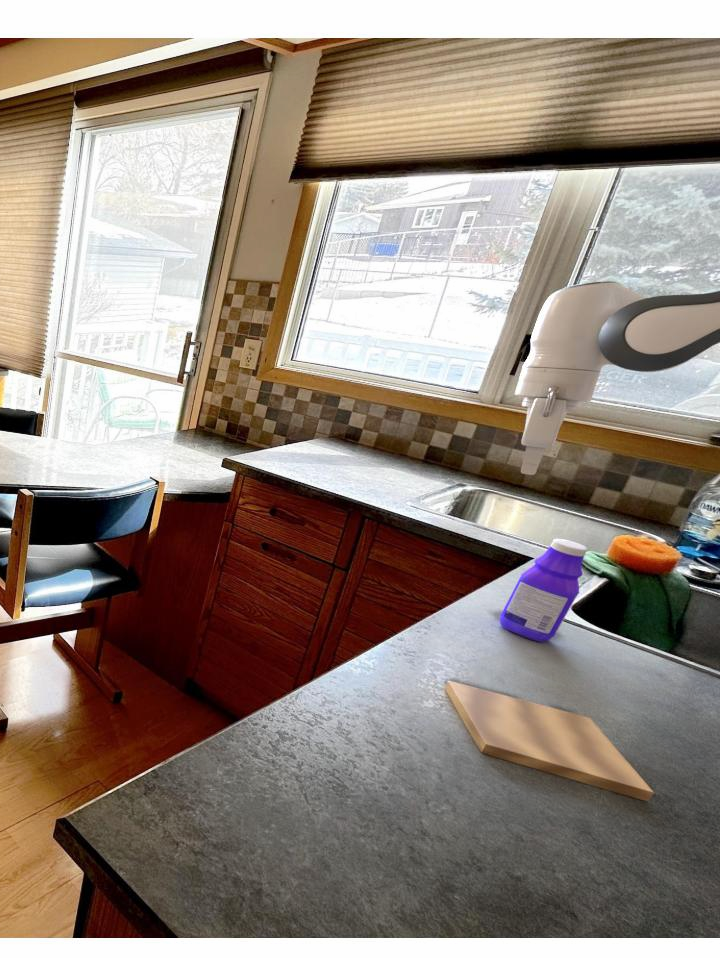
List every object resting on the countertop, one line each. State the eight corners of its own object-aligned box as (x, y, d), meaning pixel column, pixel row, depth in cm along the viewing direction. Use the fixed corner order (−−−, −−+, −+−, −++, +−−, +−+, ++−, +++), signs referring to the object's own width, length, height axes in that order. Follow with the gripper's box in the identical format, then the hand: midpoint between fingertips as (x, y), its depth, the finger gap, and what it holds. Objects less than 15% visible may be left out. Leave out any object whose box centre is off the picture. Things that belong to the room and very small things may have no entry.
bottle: (555, 638, 105) (604, 549, 99) (547, 648, 102) (596, 556, 96) (502, 617, 111) (544, 531, 104) (492, 626, 108) (535, 537, 101)
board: (584, 726, 84) (589, 717, 84) (648, 802, 72) (654, 792, 72) (444, 688, 90) (448, 680, 89) (481, 753, 78) (486, 744, 77)
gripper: (585, 389, 89) (555, 481, 92) (580, 391, 103) (554, 470, 106) (525, 384, 93) (499, 472, 96) (528, 387, 107) (505, 464, 110)
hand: (528, 471), depth 101 cm, fingers open, 8 cm apart
